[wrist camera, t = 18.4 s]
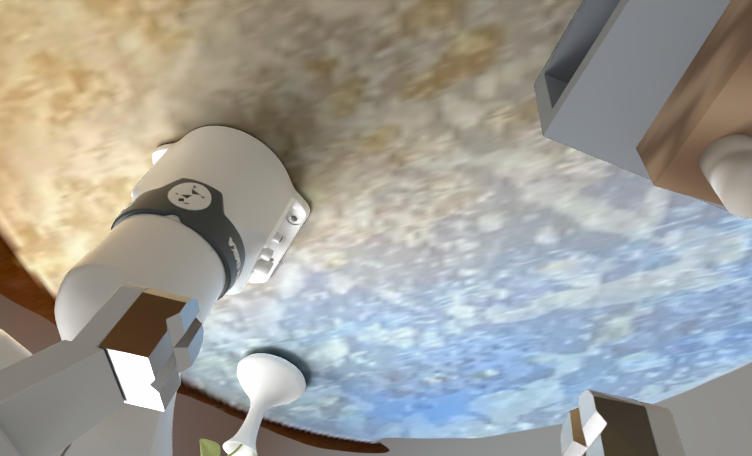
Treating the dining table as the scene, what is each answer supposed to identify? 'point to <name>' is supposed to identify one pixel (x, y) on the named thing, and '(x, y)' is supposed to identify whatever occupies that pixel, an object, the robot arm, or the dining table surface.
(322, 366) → the dining table surface
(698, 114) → the twin candle holder
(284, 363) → the flower in vase
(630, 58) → the slate shelf
